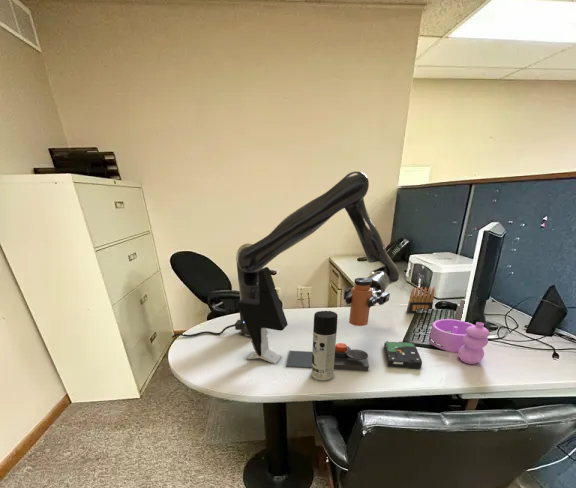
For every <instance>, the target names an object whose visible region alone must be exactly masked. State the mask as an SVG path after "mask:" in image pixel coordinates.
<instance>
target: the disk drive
mask: <svg viewBox="0 0 576 488" xmlns="http://www.w3.org/2000/svg"><path fill="white" fill-rule="evenodd" d="M383 349H384V353H385V358H386V362H387V366H388V367H391V368H403V369H404V368H405V369H422V367H423V366H422V365H423V360H422V358H421V356H420V353H419V351H418V348H417V346H416V343H415V342H409V341H387V340H386V341H385V342H384V344H383Z"/></svg>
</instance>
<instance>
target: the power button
mask: <svg viewBox="0 0 576 488" xmlns="http://www.w3.org/2000/svg"><path fill="white" fill-rule="evenodd" d="M347 346H348V345H347V344H346V343H343V342H338V343H336V351H338V352H345V351H346V350H347Z"/></svg>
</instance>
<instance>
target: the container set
mask: <svg viewBox="0 0 576 488" xmlns="http://www.w3.org/2000/svg"><path fill="white" fill-rule="evenodd" d="M484 325H485V323H484V322H481V321H477V322H475V324H473V323H471V322H465V321H460V320H454V318H442V319H438V320H435V321H433V322H432V325H431V331H430V336H429V339H428V341H429V343H430V344H431V345H432V346H433V347H435V348H437V349H440V350H443V351H446V352H451V353H457V355H458V358H459V359H460V360H461V362H463V363H465V364H468V365H475V364H478V363H480V362H481V361H482V360H483V359H484V357H485V351H484V349H483V348H485V347H486V346H487V345H488V343H489V338H488V337H489V336H490V331H489V329H488V328H486V327H484ZM445 331H451V332H452V333H449V332H445ZM430 338H431V339H432V340H433V341H434V342H436V343H437V344H440V345H441V346H443V347H441V346H439V345H437V344H435V343H433V342H432V341H431V340H430Z"/></svg>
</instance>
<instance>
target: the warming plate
mask: <svg viewBox="0 0 576 488" xmlns="http://www.w3.org/2000/svg"><path fill="white" fill-rule="evenodd" d="M346 355H347V357H348V358H350V359H353V360H364V359H366V358H367V359H368V357H369V354H368V352H367V351H365V350H361V349H351V350H349V351H348V352H347V353H346Z"/></svg>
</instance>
